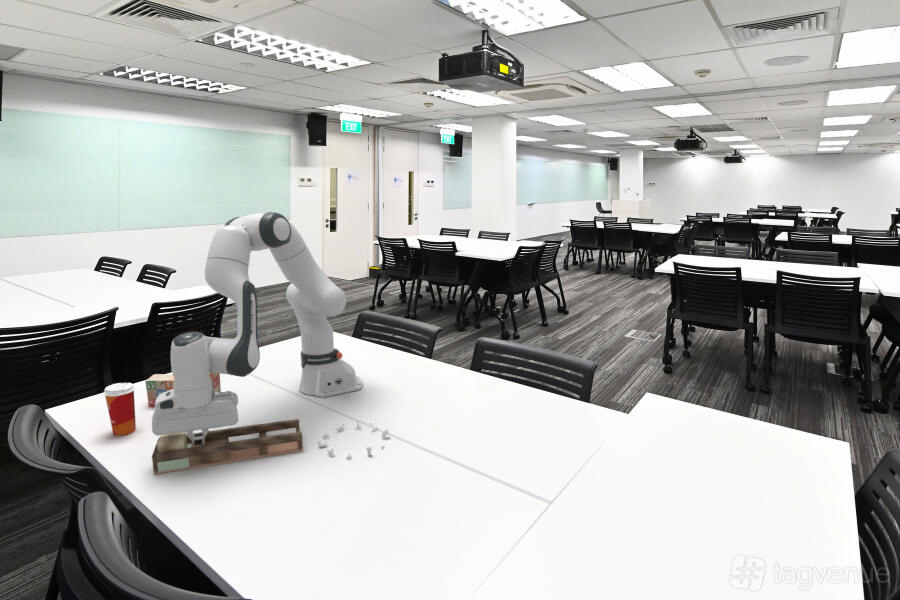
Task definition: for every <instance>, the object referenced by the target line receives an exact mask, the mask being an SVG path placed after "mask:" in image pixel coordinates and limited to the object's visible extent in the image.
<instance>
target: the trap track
mask: <svg viewBox="0 0 900 600" xmlns="http://www.w3.org/2000/svg"><path fill="white" fill-rule="evenodd" d="M291 429H295V432H288V433H283V434H275V435H267V433H270V432H277V431H282V430H291ZM302 433H303V432H302V431H301V429H300V419H299V418H295V419H294V418H293V419H287V420H280V421H273V422H265V423H258V424H251V425H244V426H235V427H230V428H223V429H216V430H215V429H214V430H208V433H207V435H206V437H205V444H202V445H195V446H193V445H192V440H191V439H190V438H189V437H188V436H187V435H186V438H187V448H185V449H179V450H172V451H165V452H158V447H157V443H158V440H159V437H158V439H157V440H156V443H155V444H156V445H155V447H154V449H153V451H152V452H153V453H152V455H151V460H152V468H153V475H159V474H165V473H171V472H177V471H182V470H188V469H189V470H190V469H196V468H202V467H209V466H215V465H221V464H227V463H233V462H240V461H246V460H252V459H253V460H254V459H259V458H265V457H269V456H270V457H271V456H276V455H284V454H290V453H291V454H292V453H296V452H302V451H304V450H303V434H302ZM257 434H258V437H254V438H249V439H247V438H246V439H241V440H234V441H233V440H232V441H230V439H229V438H235V437H241V436H248V435H257ZM193 435H194V436H195V437H199V436H202V435H203V433H202V431H201V432H195V433H194V432H193Z"/></svg>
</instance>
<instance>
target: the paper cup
mask: <svg viewBox="0 0 900 600" xmlns="http://www.w3.org/2000/svg"><path fill="white" fill-rule="evenodd" d="M135 389H136V388H135V386H134V384H133V383H131V382H118V383H114V384H111V385H108V386H106V387H105V388H104V391H103V395H104V396H105V402H106V405H107V411H108V416H109V420H110V425H111V429H112V433H113V435H114V436H116V437H117V436H118V437H122V436H123V437H124V436H127V435H130V434H133V433H135V431H136V430H137V429H136V428H137V427H136V426H137V425H136V406H135Z"/></svg>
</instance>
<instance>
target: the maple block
mask: <svg viewBox="0 0 900 600" xmlns="http://www.w3.org/2000/svg"><path fill="white" fill-rule="evenodd" d="M158 438H159V440H158V439H157V441H158V443H157V442H156V443H157V447H158V452H165V451H172V450H179V449H185V448H187V438H186V432H180V433H173V434H166V435H159V436H158Z"/></svg>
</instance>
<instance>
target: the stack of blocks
mask: <svg viewBox="0 0 900 600" xmlns="http://www.w3.org/2000/svg"><path fill="white" fill-rule="evenodd" d="M209 376H210V378H211V381H212V393H216V392H222V391H221V390H222V388H221V375H220V374H218V373H211V374H209ZM145 389H146V396H147V397H146V398H147V405H148V407H149V408H151V407H152V408H153V407H154V408H155V401H156V399H157V397H158V396H159V395H160V394H161V393H164V392H166V391H169V390H172V389H174V375H173V373H165V374H161V373H157V374H156V373H154V374H152V375H151V376H150V377H149V378H148V379H146V380H145Z"/></svg>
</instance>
